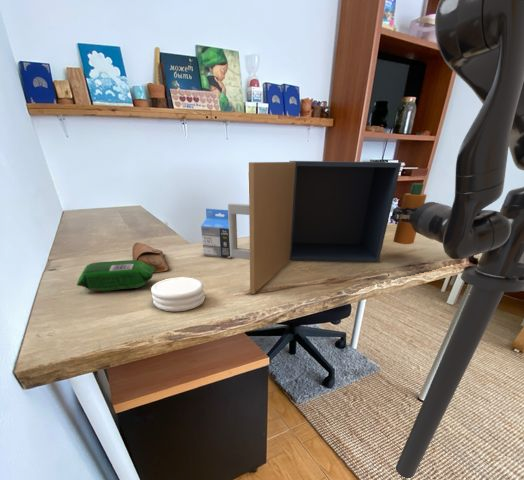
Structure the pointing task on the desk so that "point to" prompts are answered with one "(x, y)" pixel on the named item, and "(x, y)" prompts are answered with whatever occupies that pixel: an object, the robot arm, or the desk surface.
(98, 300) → the desk surface
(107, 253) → the desk surface
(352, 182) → the box
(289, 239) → the fridge door
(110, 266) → the snack package
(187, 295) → the coaster
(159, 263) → the sunglasses case
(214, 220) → the tape cartridge
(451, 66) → the robot arm
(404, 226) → the juice bottle
